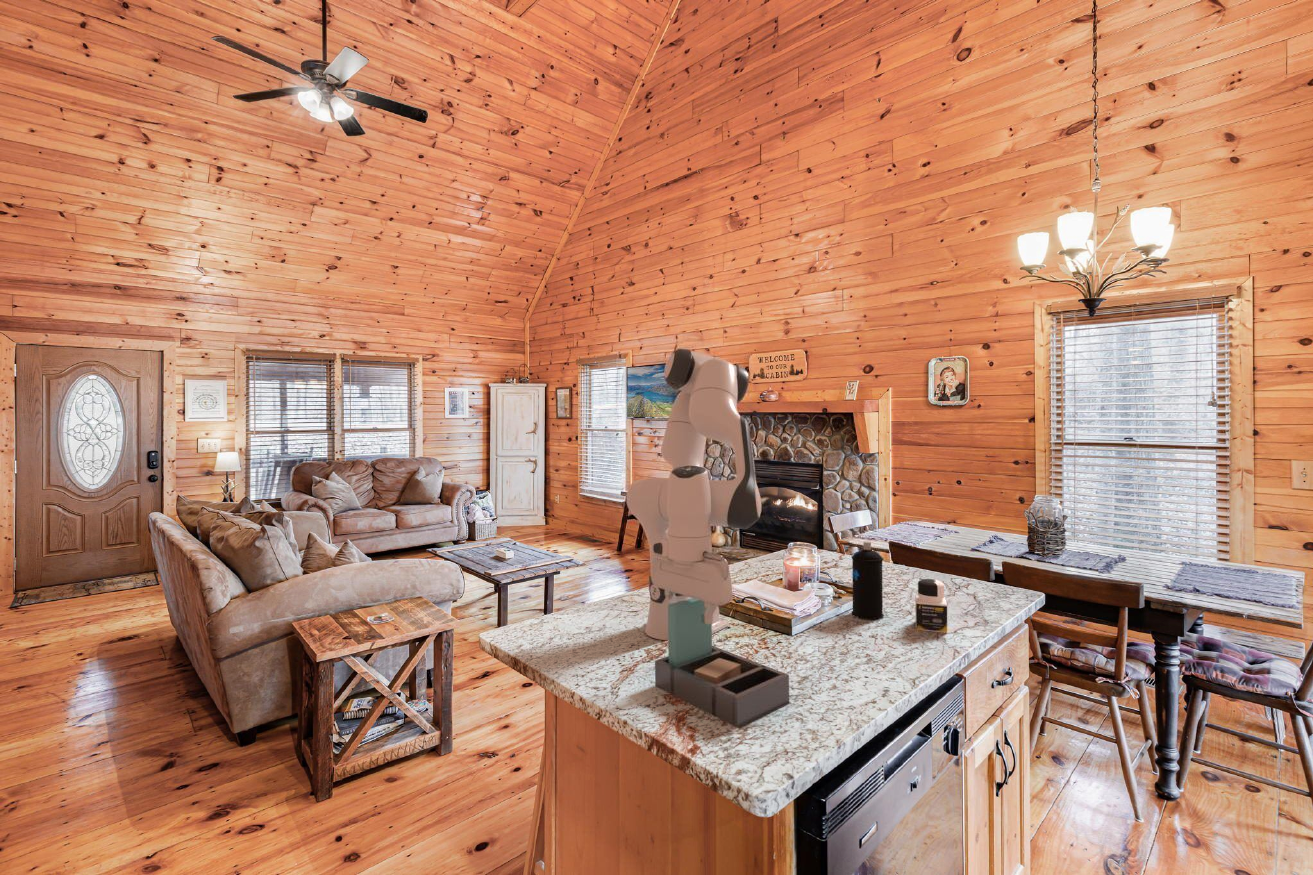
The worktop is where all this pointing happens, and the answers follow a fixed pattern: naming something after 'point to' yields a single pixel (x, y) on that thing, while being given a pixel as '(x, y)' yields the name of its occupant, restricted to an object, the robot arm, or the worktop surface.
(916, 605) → the medicine bottle
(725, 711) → the rack
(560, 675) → the worktop surface
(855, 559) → the aerosol can
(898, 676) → the worktop surface
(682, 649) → the teal panel
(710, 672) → the walnut offcut
